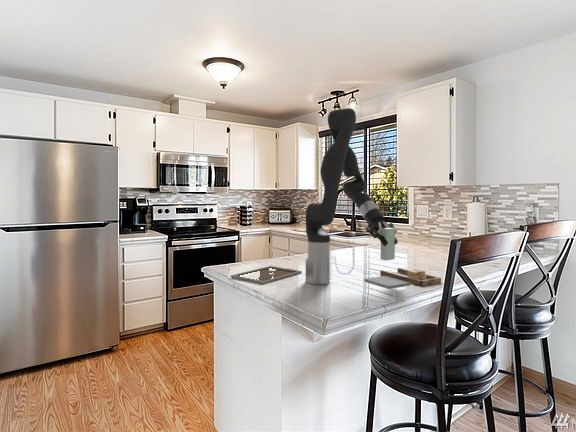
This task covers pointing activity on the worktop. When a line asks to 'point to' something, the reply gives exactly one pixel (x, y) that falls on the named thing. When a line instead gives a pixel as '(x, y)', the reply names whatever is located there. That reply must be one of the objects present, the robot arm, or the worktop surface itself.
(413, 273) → the oak offcut stack
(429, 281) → the walnut rack
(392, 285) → the slate tile
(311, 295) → the worktop surface
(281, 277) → the dark grey tray
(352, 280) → the worktop surface
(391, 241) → the sage green block
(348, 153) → the robot arm
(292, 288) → the worktop surface
